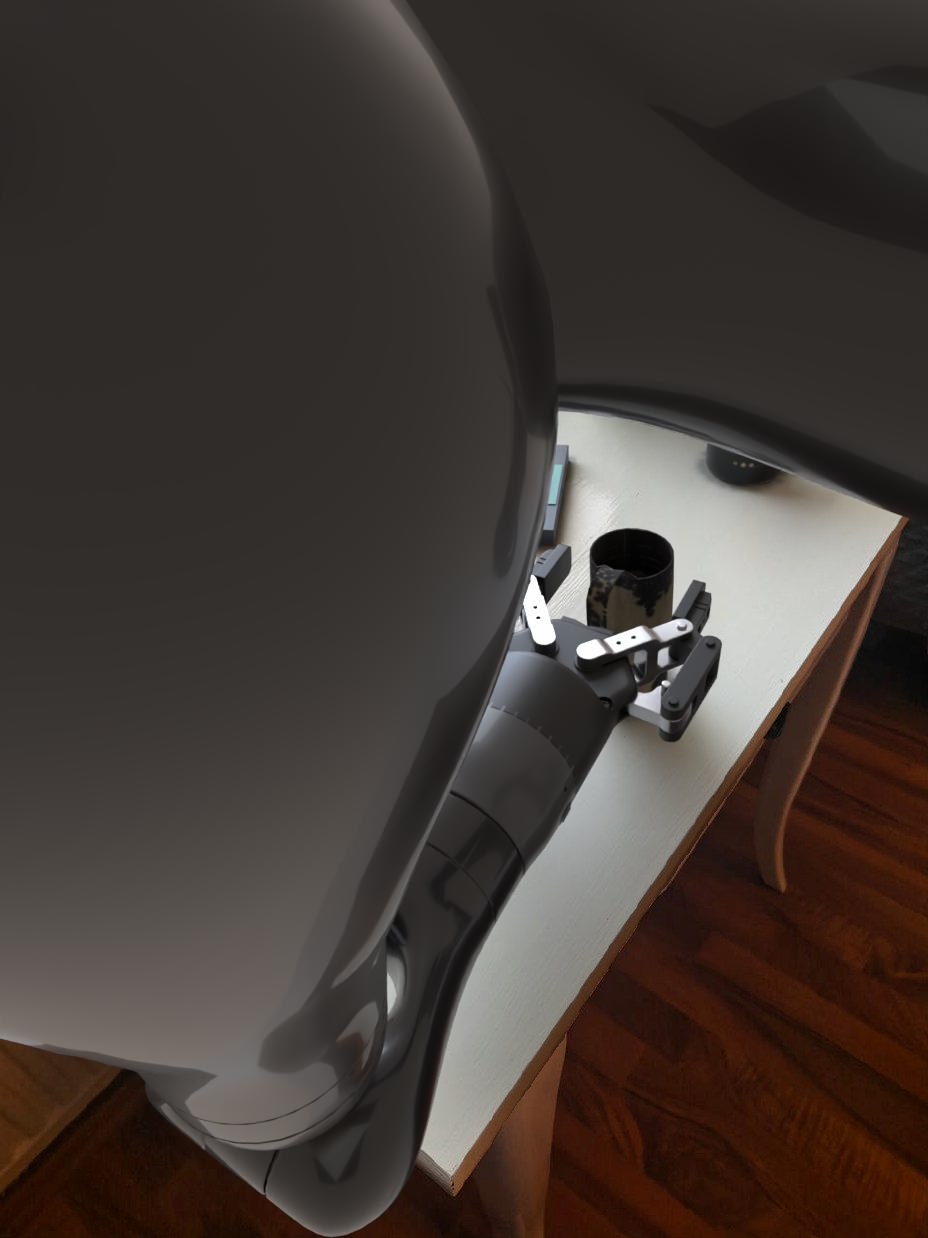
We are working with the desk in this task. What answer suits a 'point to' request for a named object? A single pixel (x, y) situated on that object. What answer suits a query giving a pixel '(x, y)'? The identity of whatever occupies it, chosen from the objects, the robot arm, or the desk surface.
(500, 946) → the desk surface
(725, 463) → the supplement bottle
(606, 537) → the mug
